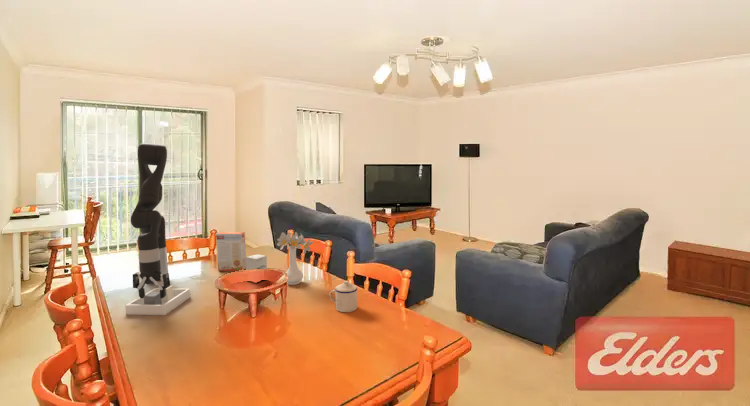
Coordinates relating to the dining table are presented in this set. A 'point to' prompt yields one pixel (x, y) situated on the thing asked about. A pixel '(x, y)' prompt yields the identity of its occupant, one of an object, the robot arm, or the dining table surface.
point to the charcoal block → (152, 299)
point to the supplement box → (256, 262)
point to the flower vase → (293, 254)
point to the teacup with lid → (345, 297)
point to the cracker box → (231, 251)
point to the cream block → (168, 293)
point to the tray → (140, 309)
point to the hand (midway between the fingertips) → (152, 297)
